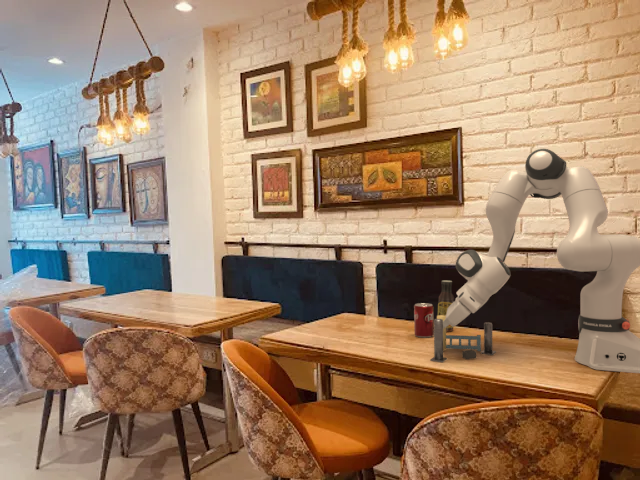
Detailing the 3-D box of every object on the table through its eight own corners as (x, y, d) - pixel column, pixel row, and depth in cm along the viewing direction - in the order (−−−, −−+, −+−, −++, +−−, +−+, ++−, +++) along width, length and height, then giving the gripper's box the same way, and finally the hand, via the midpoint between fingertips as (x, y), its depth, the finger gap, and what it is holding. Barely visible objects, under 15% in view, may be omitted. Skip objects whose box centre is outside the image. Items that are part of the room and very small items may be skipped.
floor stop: (471, 356, 167) (471, 349, 167) (476, 358, 165) (476, 351, 165) (462, 357, 166) (462, 350, 166) (466, 359, 164) (466, 352, 164)
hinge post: (496, 352, 171) (496, 322, 170) (492, 355, 168) (492, 325, 167) (484, 351, 173) (483, 321, 173) (480, 353, 170) (480, 323, 169)
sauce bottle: (436, 332, 202) (435, 281, 201) (438, 328, 208) (438, 279, 207) (453, 332, 200) (453, 282, 199) (455, 329, 206) (454, 280, 204)
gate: (480, 349, 172) (480, 316, 172) (481, 352, 169) (480, 318, 169) (437, 348, 176) (436, 315, 175) (437, 350, 173) (436, 316, 172)
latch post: (447, 359, 164) (446, 319, 164) (442, 362, 161) (441, 321, 160) (435, 357, 167) (434, 317, 166) (430, 360, 163) (429, 320, 163)
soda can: (412, 337, 195) (411, 305, 194) (417, 333, 201) (417, 302, 201) (430, 338, 191) (430, 306, 191) (436, 334, 198) (435, 303, 197)
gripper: (462, 287, 181) (434, 314, 184) (462, 296, 161) (431, 326, 165) (476, 300, 180) (448, 327, 183) (477, 311, 160) (445, 341, 164)
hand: (439, 327), depth 174 cm, fingers open, 3 cm apart
